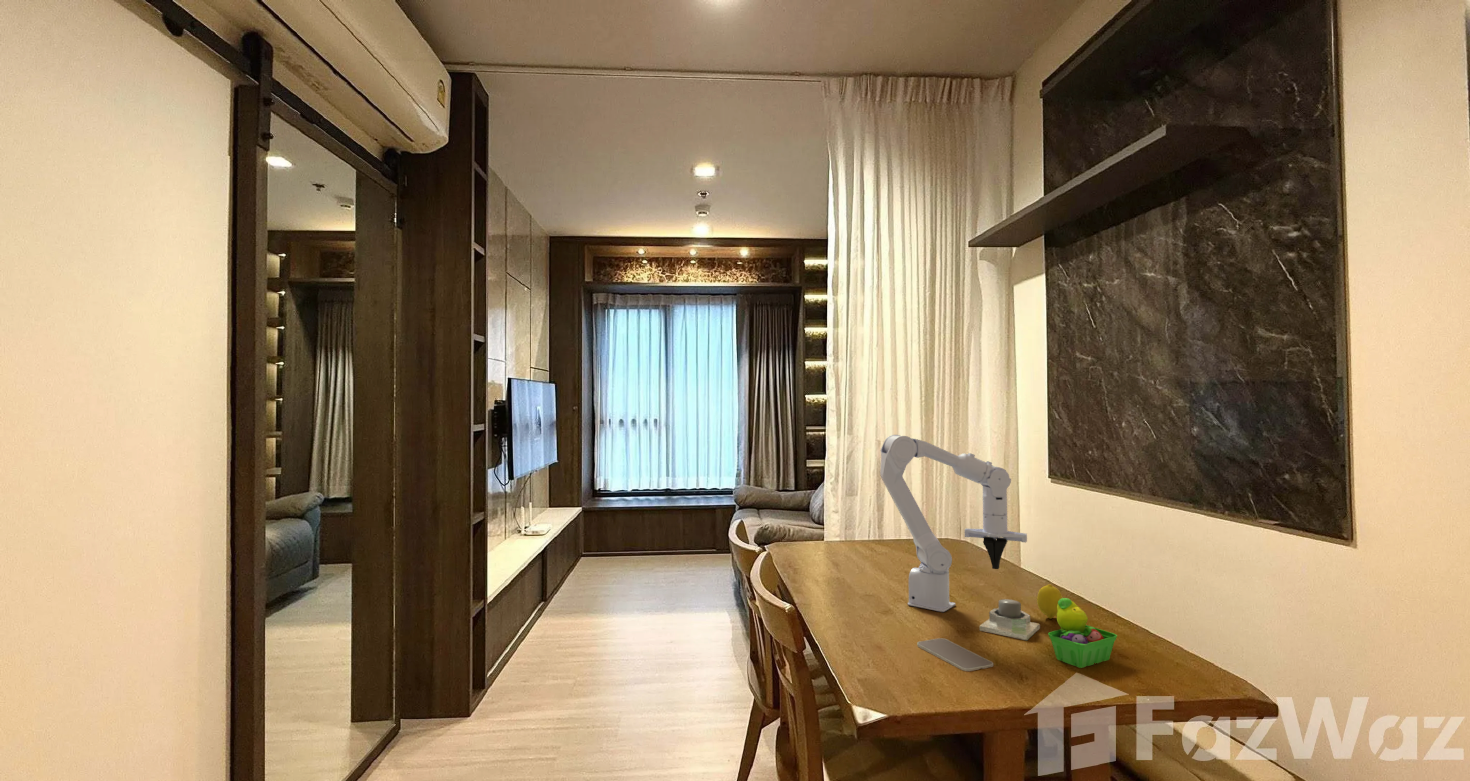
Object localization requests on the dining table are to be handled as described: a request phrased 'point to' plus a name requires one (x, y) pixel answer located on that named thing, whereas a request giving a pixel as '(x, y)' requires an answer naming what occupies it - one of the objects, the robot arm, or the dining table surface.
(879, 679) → the dining table surface
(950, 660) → the smartphone
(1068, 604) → the fruit basket
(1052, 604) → the lemon
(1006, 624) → the octagonal socket plate
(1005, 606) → the cylindrical peg
